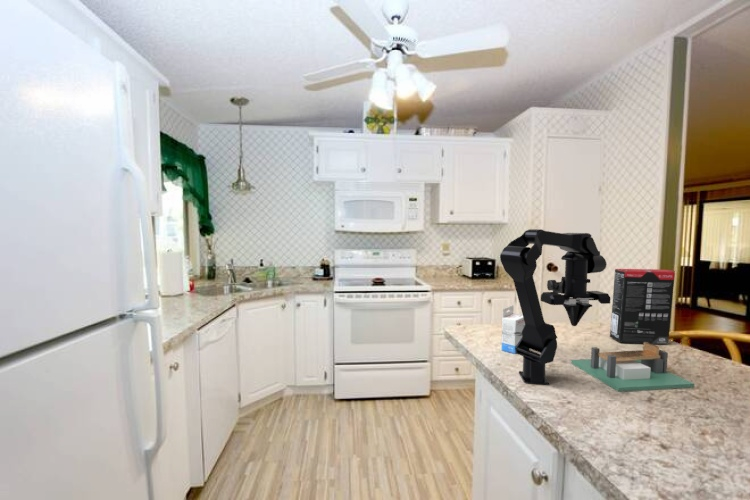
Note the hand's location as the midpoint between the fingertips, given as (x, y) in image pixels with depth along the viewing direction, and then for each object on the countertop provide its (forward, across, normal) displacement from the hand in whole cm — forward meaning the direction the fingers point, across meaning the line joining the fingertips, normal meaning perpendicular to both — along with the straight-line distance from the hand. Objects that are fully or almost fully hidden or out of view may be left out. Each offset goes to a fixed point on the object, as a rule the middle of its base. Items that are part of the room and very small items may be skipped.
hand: (573, 325), depth 100 cm
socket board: (+13, -13, +6) cm, 19 cm away
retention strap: (+8, -13, +6) cm, 16 cm away
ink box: (+13, +10, -16) cm, 23 cm away
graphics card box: (+13, -40, -18) cm, 46 cm away
